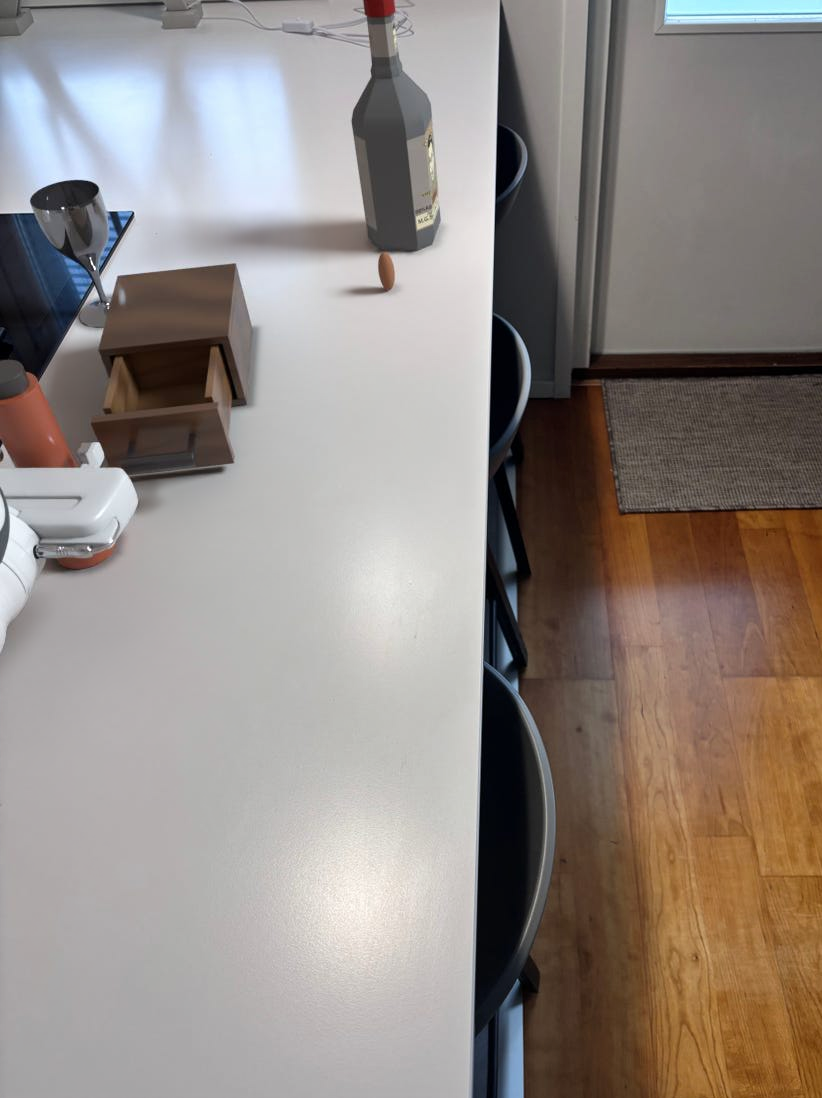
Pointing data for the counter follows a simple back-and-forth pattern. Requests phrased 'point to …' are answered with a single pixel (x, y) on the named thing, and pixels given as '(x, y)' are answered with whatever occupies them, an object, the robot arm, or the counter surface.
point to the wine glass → (77, 232)
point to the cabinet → (181, 317)
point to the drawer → (167, 410)
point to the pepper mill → (34, 435)
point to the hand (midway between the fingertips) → (43, 448)
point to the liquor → (395, 145)
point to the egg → (386, 271)
